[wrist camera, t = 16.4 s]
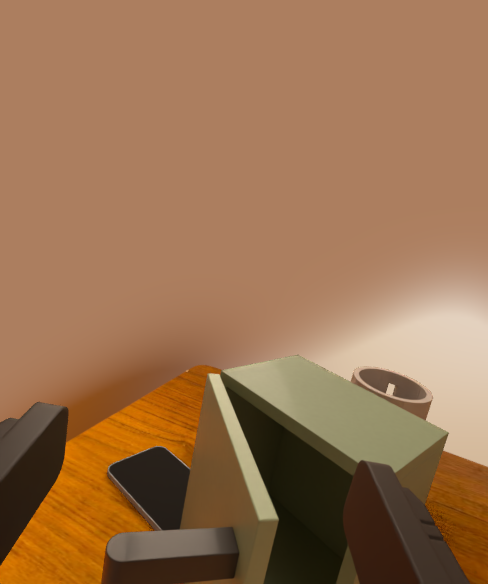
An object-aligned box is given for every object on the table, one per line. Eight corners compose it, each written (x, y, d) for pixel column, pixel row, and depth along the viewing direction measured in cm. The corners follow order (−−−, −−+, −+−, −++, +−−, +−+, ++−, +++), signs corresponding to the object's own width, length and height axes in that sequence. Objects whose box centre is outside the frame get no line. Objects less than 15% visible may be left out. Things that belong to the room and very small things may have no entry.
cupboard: (319, 694, 25) (385, 480, 21) (190, 532, 35) (221, 370, 31) (391, 604, 32) (449, 432, 28) (266, 491, 42) (297, 354, 38)
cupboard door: (74, 796, 19) (109, 528, 15) (103, 540, 32) (125, 368, 29) (220, 762, 21) (279, 519, 17) (189, 534, 34) (219, 373, 31)
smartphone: (161, 443, 46) (256, 526, 36) (160, 450, 46) (255, 534, 36) (103, 467, 40) (198, 571, 31) (102, 474, 40) (196, 581, 31)
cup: (341, 489, 44) (368, 395, 42) (323, 442, 53) (344, 361, 50) (417, 500, 45) (448, 408, 42) (387, 451, 54) (411, 373, 51)
